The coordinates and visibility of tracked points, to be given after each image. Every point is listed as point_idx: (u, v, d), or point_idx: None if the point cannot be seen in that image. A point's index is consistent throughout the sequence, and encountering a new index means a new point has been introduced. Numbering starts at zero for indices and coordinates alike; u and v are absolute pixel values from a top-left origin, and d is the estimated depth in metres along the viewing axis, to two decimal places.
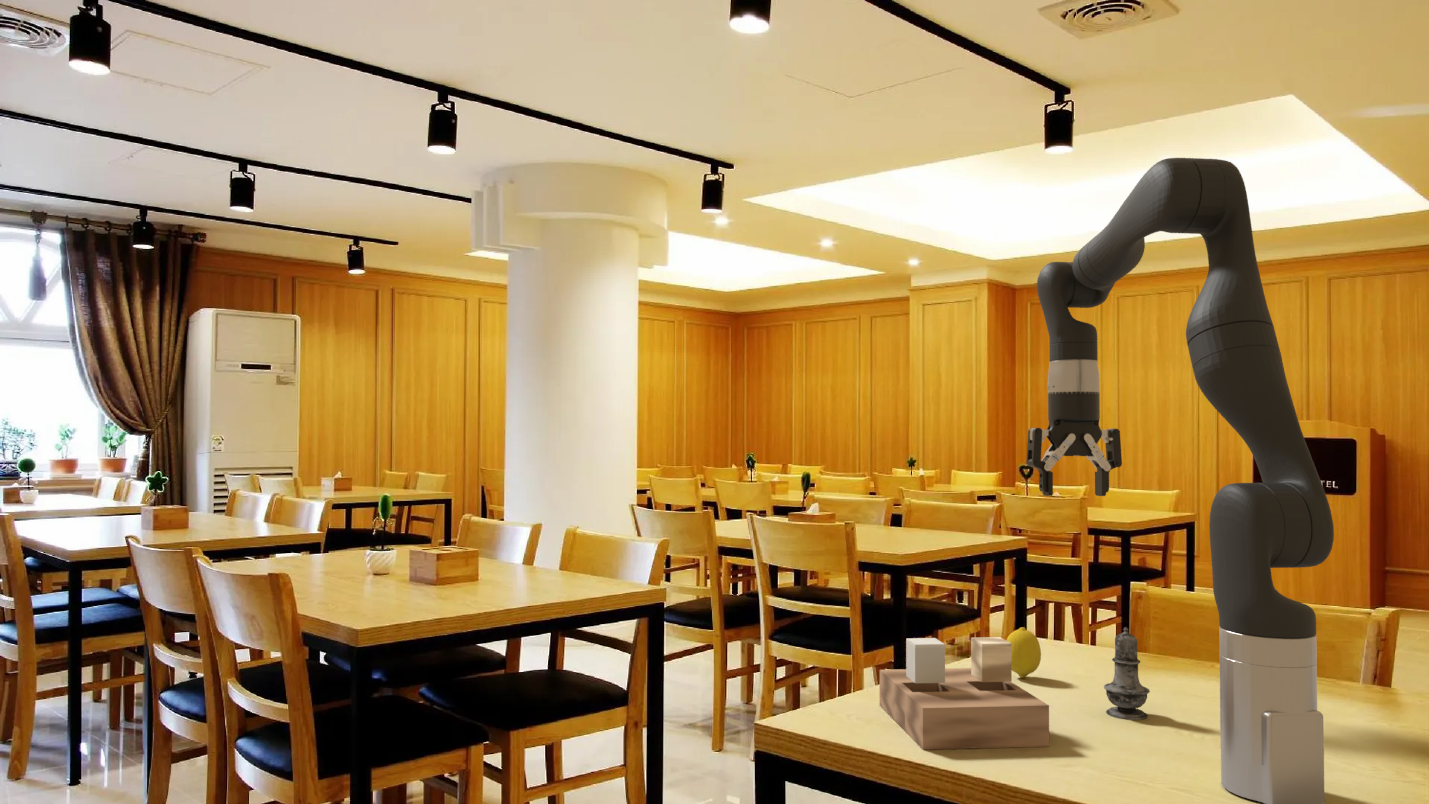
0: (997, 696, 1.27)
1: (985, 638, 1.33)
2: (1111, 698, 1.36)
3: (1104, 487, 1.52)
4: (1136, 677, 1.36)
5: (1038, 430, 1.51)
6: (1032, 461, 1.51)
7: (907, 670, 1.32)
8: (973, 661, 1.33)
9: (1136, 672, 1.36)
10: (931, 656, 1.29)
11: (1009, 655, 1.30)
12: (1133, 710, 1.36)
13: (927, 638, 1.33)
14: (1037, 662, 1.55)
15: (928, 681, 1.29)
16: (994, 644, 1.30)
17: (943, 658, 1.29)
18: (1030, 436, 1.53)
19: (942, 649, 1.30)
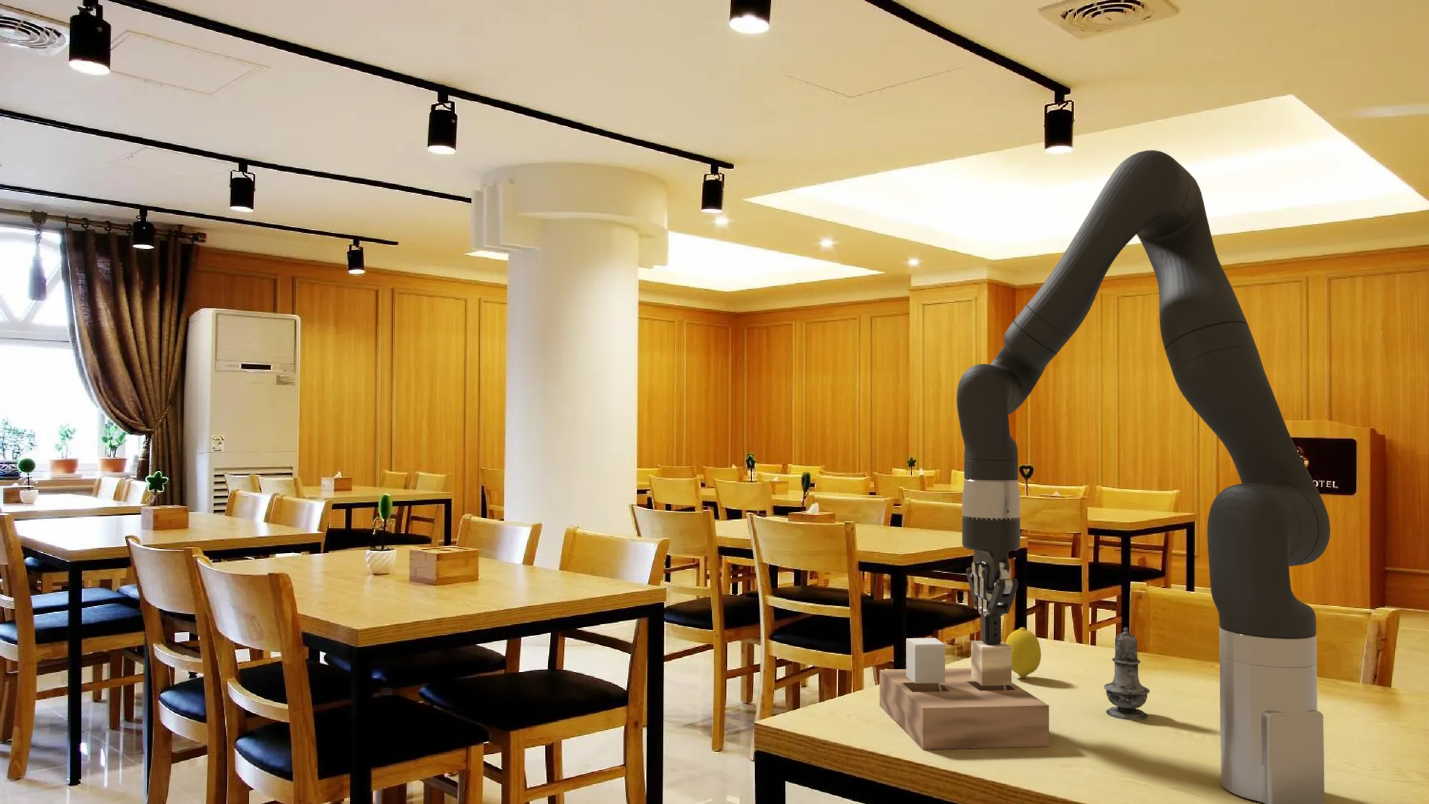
0: (997, 696, 1.27)
1: None
2: (1111, 698, 1.36)
3: None
4: (1136, 677, 1.36)
5: None
6: None
7: (907, 670, 1.32)
8: (973, 664, 1.33)
9: (1136, 672, 1.36)
10: (931, 656, 1.29)
11: (1009, 659, 1.30)
12: (1133, 710, 1.36)
13: (927, 638, 1.33)
14: (1037, 662, 1.55)
15: (928, 681, 1.29)
16: (994, 648, 1.30)
17: (943, 658, 1.29)
18: (1004, 591, 1.27)
19: (942, 649, 1.30)
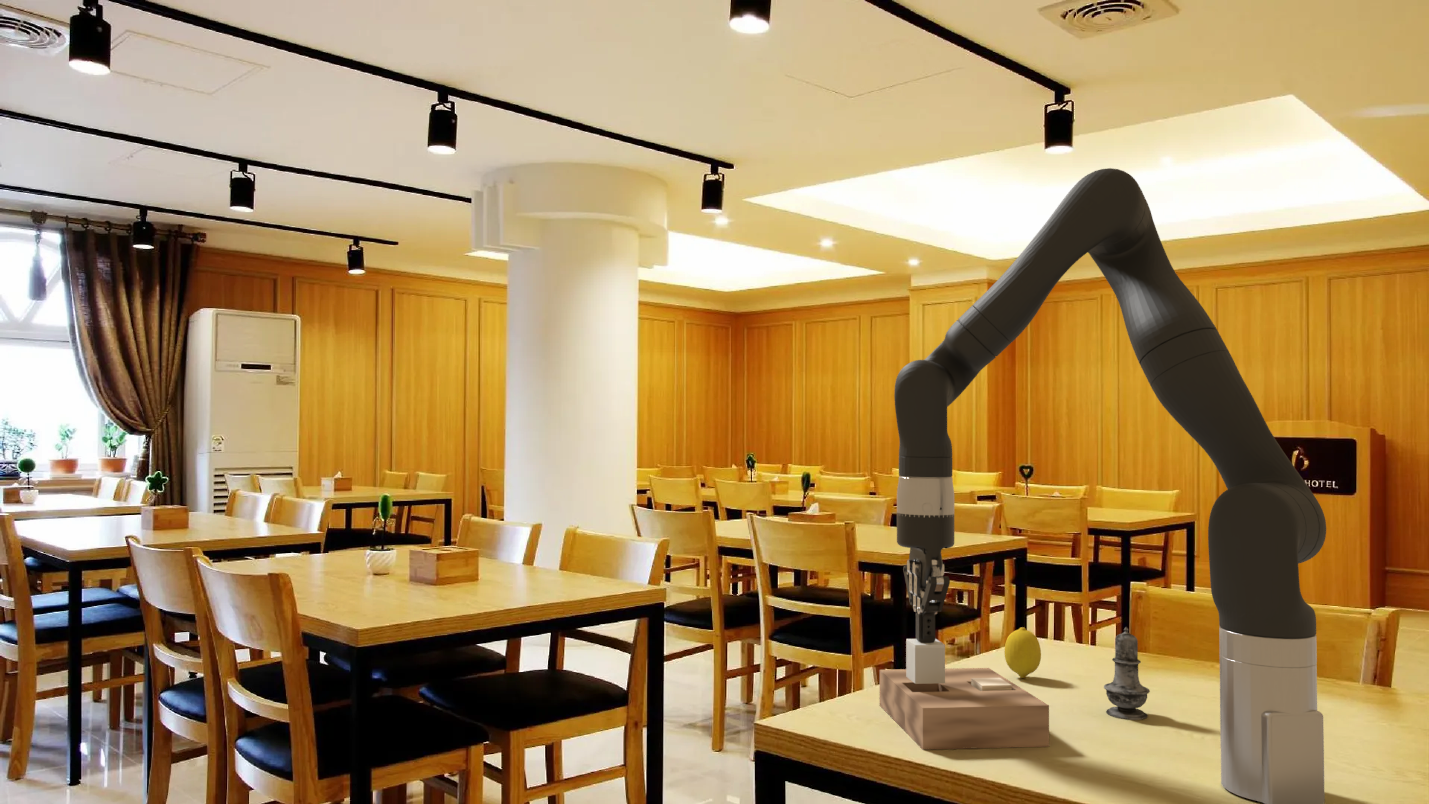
0: (997, 696, 1.27)
1: (985, 679, 1.33)
2: (1111, 698, 1.36)
3: None
4: (1136, 677, 1.36)
5: None
6: None
7: (907, 670, 1.32)
8: None
9: (1136, 672, 1.36)
10: (931, 656, 1.29)
11: None
12: (1133, 710, 1.36)
13: None
14: (1037, 662, 1.55)
15: (928, 681, 1.29)
16: (994, 686, 1.30)
17: (943, 658, 1.29)
18: (936, 588, 1.26)
19: (942, 649, 1.30)
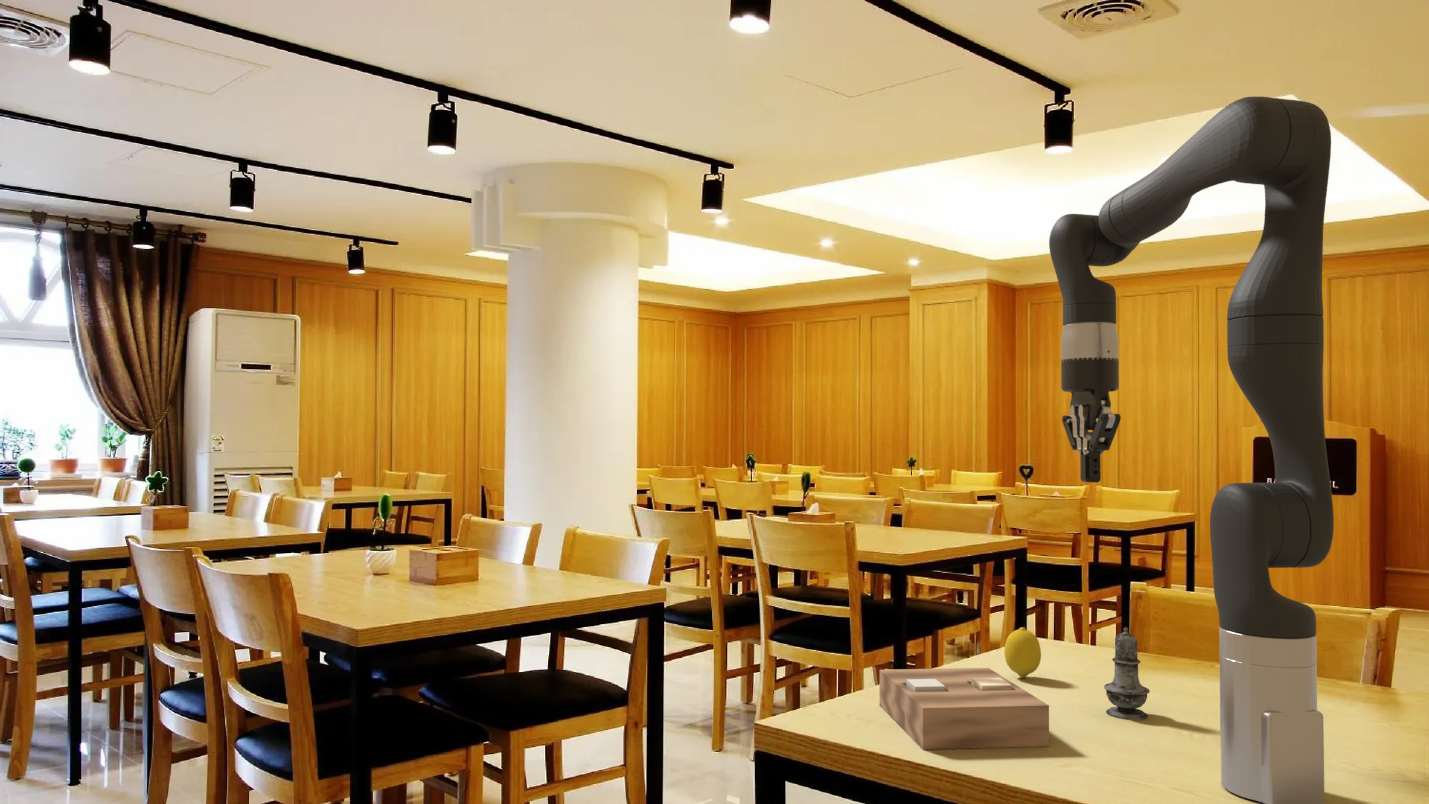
0: (997, 696, 1.27)
1: (985, 679, 1.33)
2: (1111, 698, 1.36)
3: None
4: (1136, 677, 1.36)
5: None
6: None
7: None
8: None
9: (1136, 672, 1.36)
10: None
11: None
12: (1133, 710, 1.36)
13: (927, 679, 1.33)
14: (1037, 662, 1.55)
15: None
16: (994, 686, 1.30)
17: None
18: (1107, 425, 1.32)
19: (942, 691, 1.29)
